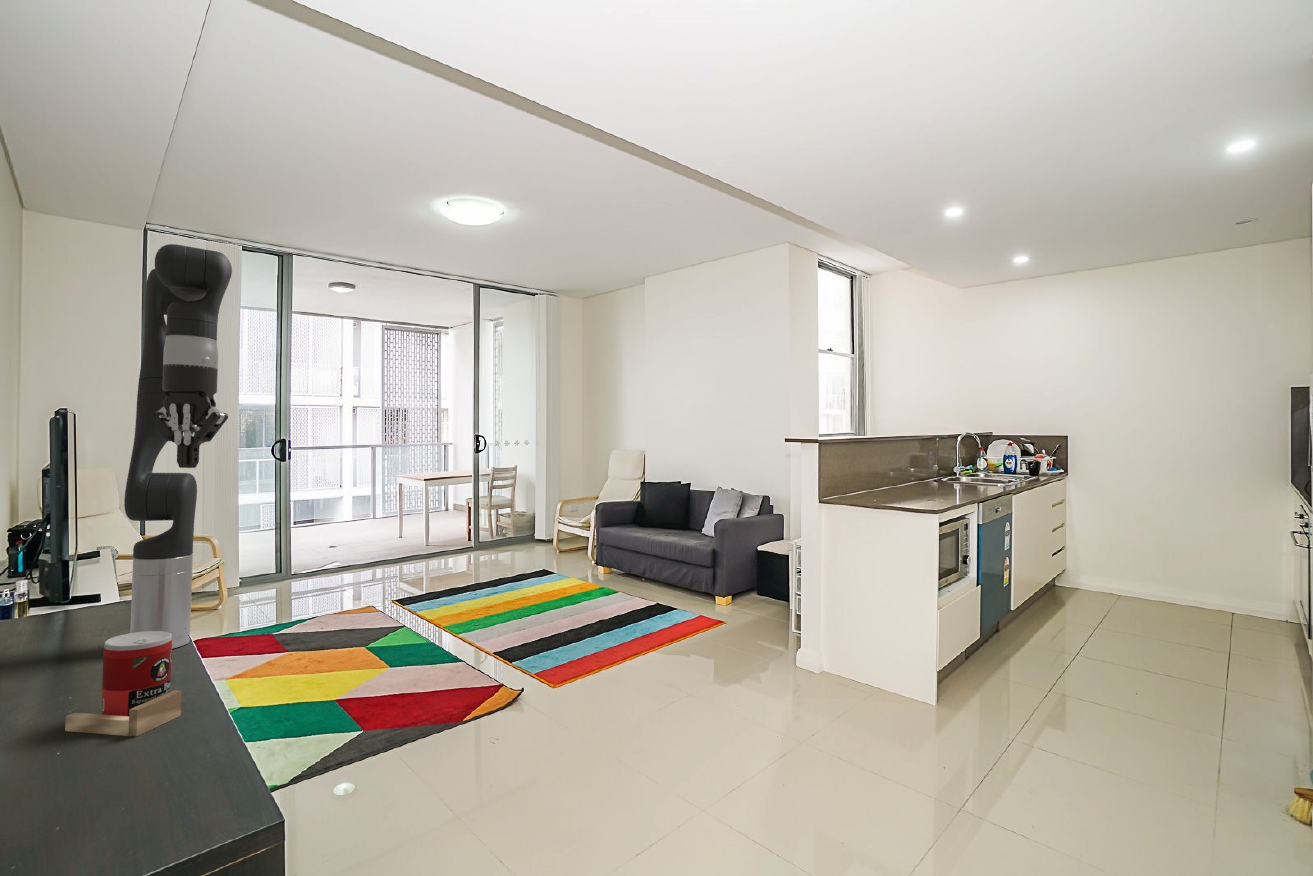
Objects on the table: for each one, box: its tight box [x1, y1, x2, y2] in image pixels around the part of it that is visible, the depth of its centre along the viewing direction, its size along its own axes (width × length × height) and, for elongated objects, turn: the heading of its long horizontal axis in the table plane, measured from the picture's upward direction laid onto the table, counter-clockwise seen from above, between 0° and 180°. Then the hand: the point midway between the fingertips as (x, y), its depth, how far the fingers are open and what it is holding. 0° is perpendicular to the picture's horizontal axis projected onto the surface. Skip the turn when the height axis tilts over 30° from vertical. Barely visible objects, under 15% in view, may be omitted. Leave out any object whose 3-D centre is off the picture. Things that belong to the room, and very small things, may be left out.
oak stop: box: [64, 689, 183, 738], centre depth 90 cm, size 11×7×4 cm, turn 83°
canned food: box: [100, 631, 173, 717], centre depth 93 cm, size 8×8×11 cm
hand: (187, 467), depth 109 cm, fingers closed
